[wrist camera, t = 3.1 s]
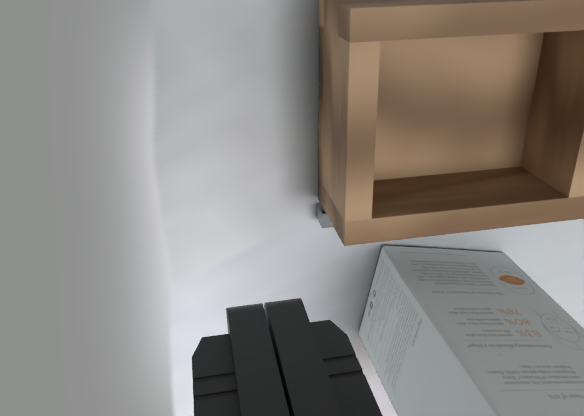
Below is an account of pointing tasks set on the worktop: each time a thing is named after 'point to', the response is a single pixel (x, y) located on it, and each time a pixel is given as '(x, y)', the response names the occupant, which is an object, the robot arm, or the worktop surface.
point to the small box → (470, 337)
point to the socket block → (449, 115)
